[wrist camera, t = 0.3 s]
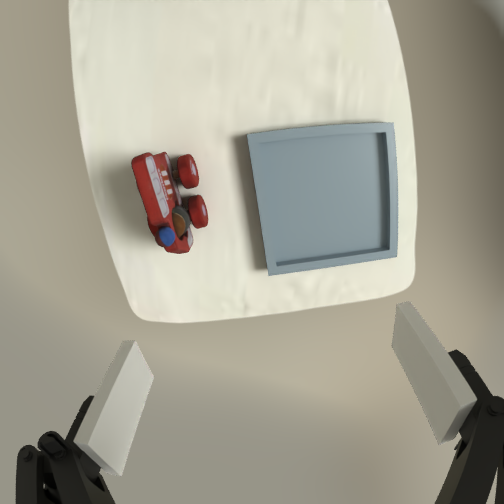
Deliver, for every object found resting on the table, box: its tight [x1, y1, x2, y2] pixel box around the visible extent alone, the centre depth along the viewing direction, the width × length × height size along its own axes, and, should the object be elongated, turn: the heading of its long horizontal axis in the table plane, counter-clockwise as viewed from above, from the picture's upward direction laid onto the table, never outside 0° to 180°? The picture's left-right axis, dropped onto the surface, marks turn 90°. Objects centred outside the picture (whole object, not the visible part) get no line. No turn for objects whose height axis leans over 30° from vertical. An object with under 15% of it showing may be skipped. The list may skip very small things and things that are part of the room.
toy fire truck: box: [131, 152, 208, 254], centre depth 32 cm, size 7×12×10 cm, turn 12°
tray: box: [247, 123, 398, 276], centre depth 36 cm, size 18×18×2 cm
